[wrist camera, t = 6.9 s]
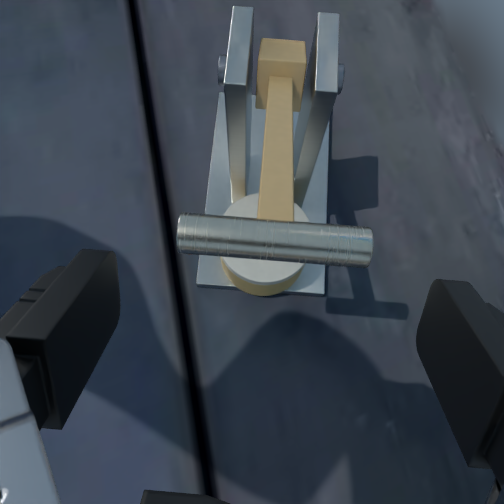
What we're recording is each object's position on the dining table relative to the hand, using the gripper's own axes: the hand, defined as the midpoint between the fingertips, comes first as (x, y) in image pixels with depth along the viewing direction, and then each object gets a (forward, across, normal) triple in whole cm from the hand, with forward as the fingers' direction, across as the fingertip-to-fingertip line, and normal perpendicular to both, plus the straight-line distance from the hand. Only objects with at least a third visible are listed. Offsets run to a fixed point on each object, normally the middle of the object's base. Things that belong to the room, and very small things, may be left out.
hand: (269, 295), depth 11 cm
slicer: (+23, 0, +5) cm, 23 cm away
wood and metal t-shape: (+9, 0, -1) cm, 9 cm away
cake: (+18, 0, +8) cm, 20 cm away
